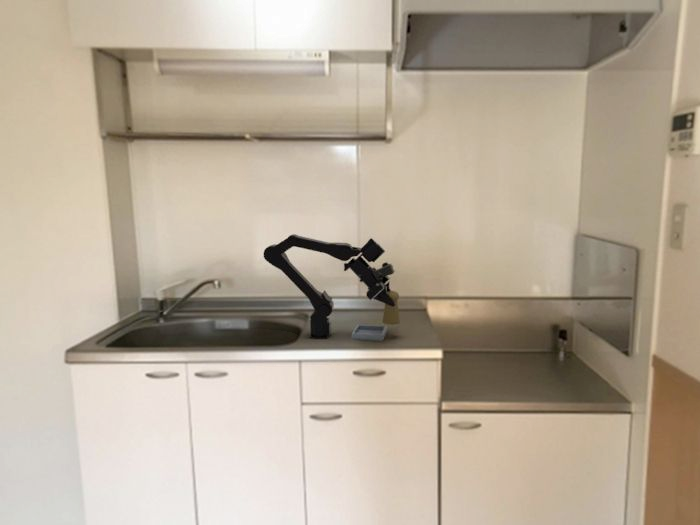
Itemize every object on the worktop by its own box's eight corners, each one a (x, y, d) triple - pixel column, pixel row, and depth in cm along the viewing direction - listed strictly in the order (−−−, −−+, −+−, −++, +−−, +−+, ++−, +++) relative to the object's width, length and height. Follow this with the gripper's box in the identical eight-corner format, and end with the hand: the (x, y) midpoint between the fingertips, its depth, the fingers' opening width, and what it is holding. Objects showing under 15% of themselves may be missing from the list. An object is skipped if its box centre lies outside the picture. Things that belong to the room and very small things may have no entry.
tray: (352, 339, 162) (351, 333, 162) (357, 330, 173) (357, 324, 173) (382, 340, 160) (382, 334, 160) (386, 331, 171) (386, 326, 170)
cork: (399, 320, 166) (400, 289, 164) (399, 324, 160) (400, 293, 158) (382, 319, 167) (383, 289, 165) (382, 324, 161) (382, 293, 159)
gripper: (376, 259, 152) (409, 294, 151) (384, 252, 170) (414, 283, 169) (352, 282, 154) (385, 316, 154) (362, 273, 173) (392, 303, 172)
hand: (395, 304), depth 162 cm, fingers closed on cork, 5 cm apart
